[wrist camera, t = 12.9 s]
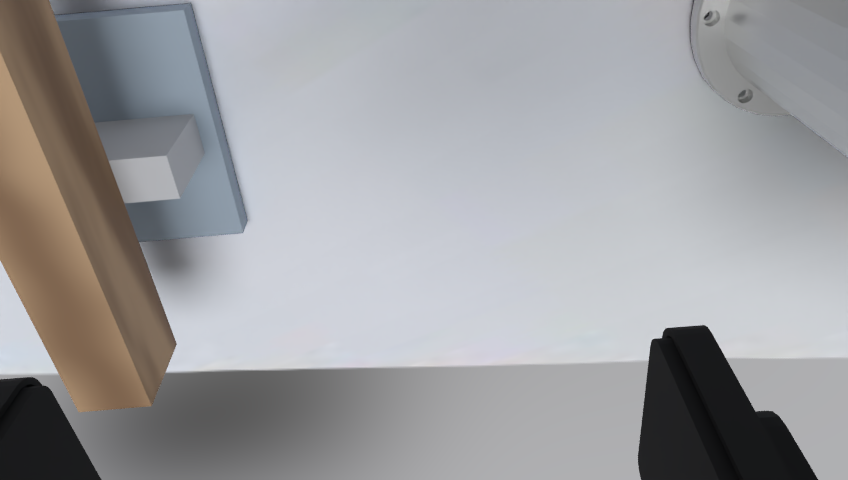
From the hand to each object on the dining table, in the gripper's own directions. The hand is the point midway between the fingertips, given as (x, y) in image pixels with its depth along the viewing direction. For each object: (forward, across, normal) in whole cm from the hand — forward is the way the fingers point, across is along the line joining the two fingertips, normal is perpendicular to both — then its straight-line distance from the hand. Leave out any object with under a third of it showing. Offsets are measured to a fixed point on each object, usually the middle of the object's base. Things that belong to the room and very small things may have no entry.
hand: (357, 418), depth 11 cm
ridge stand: (+30, +18, +6) cm, 36 cm away
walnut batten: (+23, +18, +7) cm, 30 cm away
